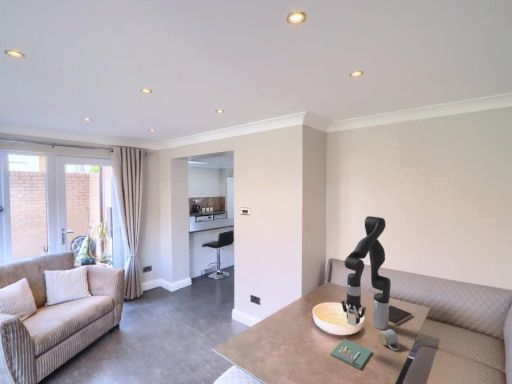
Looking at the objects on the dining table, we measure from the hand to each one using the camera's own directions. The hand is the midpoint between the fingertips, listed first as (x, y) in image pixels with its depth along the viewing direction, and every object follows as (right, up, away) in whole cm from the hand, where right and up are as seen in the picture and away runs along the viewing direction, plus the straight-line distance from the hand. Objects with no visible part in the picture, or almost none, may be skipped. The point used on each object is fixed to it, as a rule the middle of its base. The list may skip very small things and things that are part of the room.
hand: (353, 321), depth 147 cm
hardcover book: (+42, -15, +36) cm, 58 cm away
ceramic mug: (+23, -16, +3) cm, 27 cm away
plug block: (0, -1, 0) cm, 1 cm away
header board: (-3, -15, -5) cm, 16 cm away
